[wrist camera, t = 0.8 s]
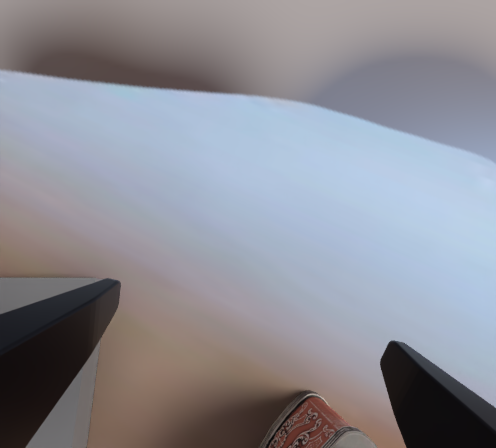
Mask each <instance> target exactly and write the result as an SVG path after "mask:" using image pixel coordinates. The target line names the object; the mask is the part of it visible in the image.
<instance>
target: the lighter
mask: <svg viewBox="0 0 496 448" xmlns="http://www.w3.org/2000/svg"><path fill="white" fill-rule="evenodd" d="M259 448H377V446H376V445H375V443H374V442H373V441H372V440H371V439H370V438H369V437H368V436H367V435H366V434H365V433H363V432H362V431H361V430H359V429H358V428H356V427H352V426H351V425H350V424H348V423H347V422H346V421H345V420H344V419H343V418H342V417H341V416H339V415H338V414H337V413H336V412H335V411H334V410H333V409H332V408H330V407H329V405H328V403H327V402H326V401H325V399H324V398H323V397H321V396H320V395H319V394H317V393H316V392H314V391H310V390H309V391H304V392H302V393H301V394H300V395H299V396H298V397H296V398H295V399H294V400H293V401H292V402H291V403H290V404H289V405H288V406H287V407H286V408H285V410H284V411H283V412H282V414H281V415H280V416H279V417H278V419H277V420H276V421H275V422H274V424H273V425H272V426H271V428H270V430H269V431H268V433H267V435H266V436H265V438H264V440H263V441H262V443H261V445H260V446H259Z"/></svg>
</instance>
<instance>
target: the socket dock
mask: <svg viewBox="0 0 496 448" xmlns="http://www.w3.org/2000/svg"><path fill="white" fill-rule="evenodd" d="M100 280H103V279H99V278H0V314H2V313H5V312H8V311H11V310H14V309H17V308H20V307H23V306H26V305H29V304H32V303H35V302H38V301H41V300H44V299H47V298H49V297H52V296H55V295H58V294H61V293H64V292H67V291H70V290H73V289H76V288H79V287H82V286H85V285H88V284H91V283H94V282H97V281H100ZM100 340H101V339H100ZM99 348H100V341H99V342H98V344H97V346H96V348H95V349H94V351H93V353H92V354H91V356H90V357H89V359H88V360H87V362H86V363H85V365H84V366H83V367H82V369H81V370H80V372H79V373H78V374H77V376H76V377H75V379H74V380H73V381H72V383H71V384H70V386H69V387H68V388H67V390H66V391H65V393H64V394H63V395H62V397H61V398H60V400H59V401H58V403H57V404H56V405H55V407H54V408H53V410H52V411H51V412H50V414H49V415H48V417H47V418H46V419H45V421H44V422H43V424H42V425H41V426H40V428H39V429H38V431H37V432H36V433H35V435H34V436H33V438H32V439H31V440H30V442H29V443H28V445H27V446H26V448H87V441H88V434H89V426H90V418H91V410H92V403H93V395H94V387H95V379H96V372H97V364H98V356H99Z"/></svg>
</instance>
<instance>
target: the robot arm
mask: <svg viewBox="0 0 496 448" xmlns="http://www.w3.org/2000/svg"><path fill="white" fill-rule="evenodd" d="M120 288H121V283H120V281H118V280H114V279H109V278H106V279H103V280H100V281H97V282H94V283H91V284H88V285H85V286H82V287H79V288H76V289H73V290H70V291H67V292H64V293H61V294H58V295H55V296H52V297H49V298H47V299H44V300H41V301H38V302H35V303H32V304H29V305H26V306H23V307H20V308H17V309H14V310H11V311H8V312H5V313H2V314H0V448H26V446H27V445H28V443H29V442H30V440H31V439H32V438H33V436H34V435H35V433H36V432H37V431H38V429H39V428H40V426H41V425H42V424H43V422H44V421H45V419H46V418H47V417H48V415H49V414H50V412H51V411H52V410H53V408H54V407H55V405H56V404H57V403H58V401H59V400H60V398H61V397H62V395H63V394H64V393H65V391H66V390H67V388H68V387H69V386H70V384H71V383H72V381H73V380H74V379H75V377H76V376H77V374H78V373H79V372H80V370H81V369H82V367H83V366H84V365H85V363H86V362H87V360H88V359H89V357H90V356H91V354H92V353H93V351H94V349H95V348H96V346H97V344H98V342H99V341H100V339H101V337H102V335H103V333H104V332H105V330H106V328H107V326H108V325H109V323H110V321H111V319H112V317H113V316H114V314H115V312H116V310H117V308H118V304H119V296H120ZM380 366H381V370H382V374H383V377H384V381H385V385H386V388H387V392H388V395H389V399H390V402H391V406H392V409H393V412H394V415H395V418H396V421H397V424H398V427H399V429H400V432H401V434H402V437H403V440H404V442H405V445H406V448H496V408H495V407H494V406H492V405H491V404H489V403H488V402H487V401H485V400H484V399H482V398H481V397H480V396H478V395H477V394H475V393H474V392H473V391H471V390H470V389H468V388H467V387H466V386H464V385H463V384H461V383H460V382H459V381H457V380H456V379H454V378H453V377H452V376H450V375H449V374H447V373H446V372H445V371H443V370H442V369H440V368H439V367H438V366H436V365H435V364H433V363H432V362H431V361H429V360H428V359H426V358H425V357H423V356H422V355H421V354H419V353H418V352H416V351H415V350H414V349H412V348H411V347H409V346H408V345H407V344H405V343H403V342H398V341H390V342H389V344H388V345H387V348H386V350H385V352H384V354H383V356H382V358H381V361H380Z"/></svg>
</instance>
